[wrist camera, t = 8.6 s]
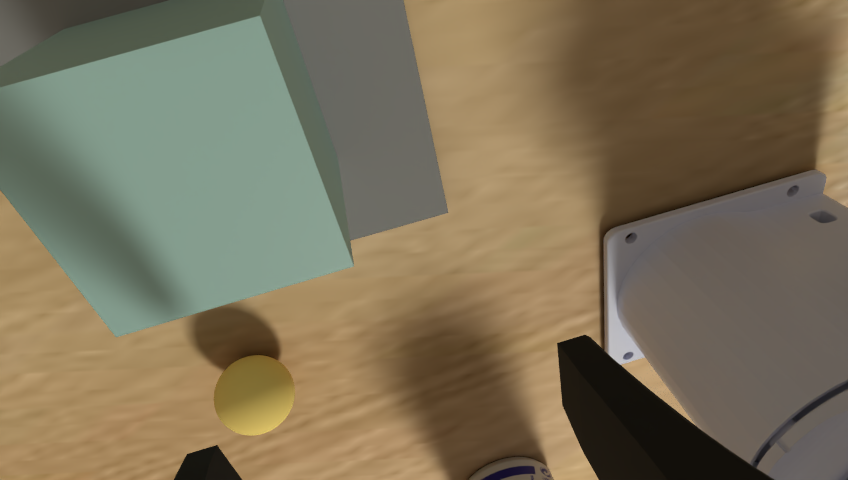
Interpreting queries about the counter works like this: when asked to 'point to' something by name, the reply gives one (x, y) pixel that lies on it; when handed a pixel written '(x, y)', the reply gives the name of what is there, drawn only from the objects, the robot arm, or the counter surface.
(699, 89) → the counter surface
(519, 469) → the energy drink
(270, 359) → the yellow ball
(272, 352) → the counter surface
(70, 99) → the teal cover
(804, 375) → the robot arm
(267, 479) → the counter surface
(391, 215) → the charcoal mat
